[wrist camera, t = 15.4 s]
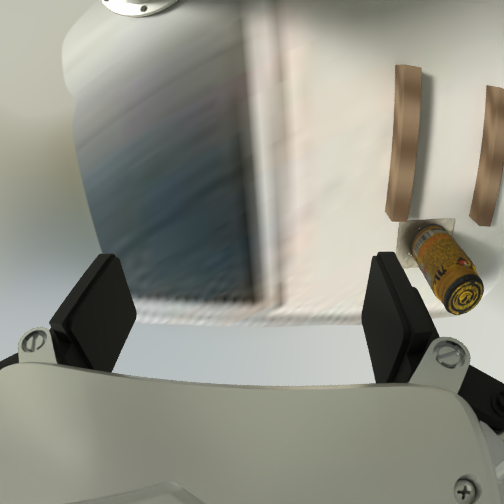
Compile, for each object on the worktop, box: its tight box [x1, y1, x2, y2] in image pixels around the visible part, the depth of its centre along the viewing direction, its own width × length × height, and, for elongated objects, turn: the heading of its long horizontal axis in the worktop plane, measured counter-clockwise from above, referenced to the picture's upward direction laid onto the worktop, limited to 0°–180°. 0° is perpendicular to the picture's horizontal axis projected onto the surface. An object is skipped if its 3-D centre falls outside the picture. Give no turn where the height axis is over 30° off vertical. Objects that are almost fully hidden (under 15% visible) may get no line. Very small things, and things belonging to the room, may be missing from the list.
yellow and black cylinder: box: [396, 219, 484, 315], centre depth 34 cm, size 7×8×12 cm
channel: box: [385, 65, 504, 226], centre depth 31 cm, size 18×15×3 cm
